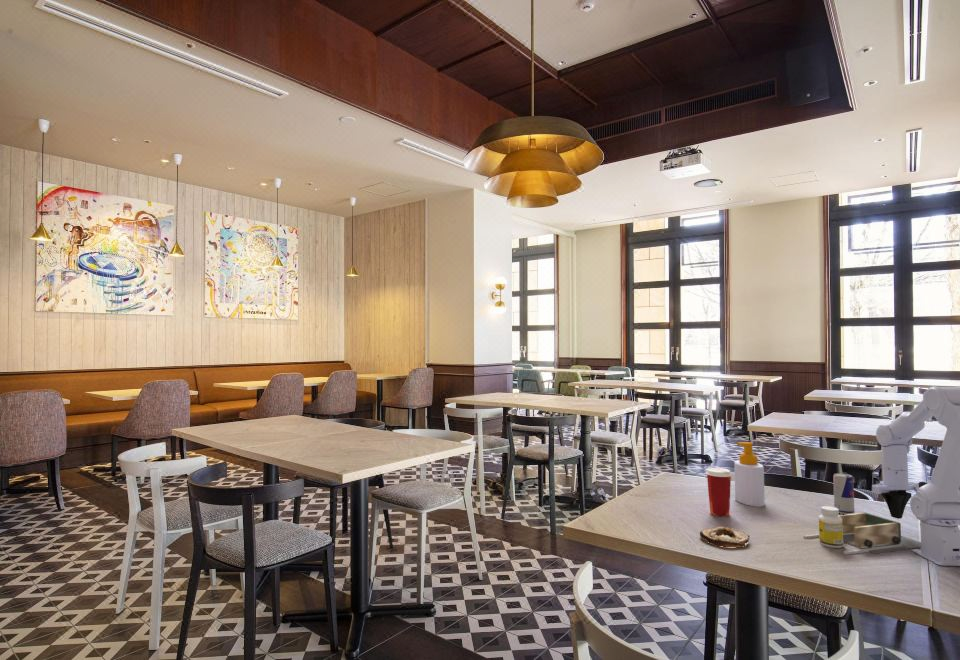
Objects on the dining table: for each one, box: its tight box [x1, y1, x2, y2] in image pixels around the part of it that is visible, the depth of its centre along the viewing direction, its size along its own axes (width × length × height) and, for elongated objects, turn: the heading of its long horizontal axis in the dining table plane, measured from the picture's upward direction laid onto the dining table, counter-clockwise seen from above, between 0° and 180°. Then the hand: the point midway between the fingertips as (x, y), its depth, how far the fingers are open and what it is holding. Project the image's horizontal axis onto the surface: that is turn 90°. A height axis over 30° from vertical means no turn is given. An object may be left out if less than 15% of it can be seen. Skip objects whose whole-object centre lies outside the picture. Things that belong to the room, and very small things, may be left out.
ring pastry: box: [699, 526, 751, 548], centre depth 149 cm, size 15×15×4 cm
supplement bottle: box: [818, 505, 844, 549], centre depth 146 cm, size 5×5×10 cm
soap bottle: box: [733, 441, 766, 508], centre depth 187 cm, size 13×8×20 cm, turn 178°
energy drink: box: [832, 472, 855, 515], centre depth 174 cm, size 5×5×12 cm
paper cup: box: [705, 467, 732, 517], centre depth 174 cm, size 8×8×14 cm
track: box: [803, 533, 921, 556], centre depth 148 cm, size 26×16×1 cm, turn 105°
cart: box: [838, 512, 902, 548], centre depth 148 cm, size 15×12×5 cm
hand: (896, 517), depth 151 cm, fingers closed
